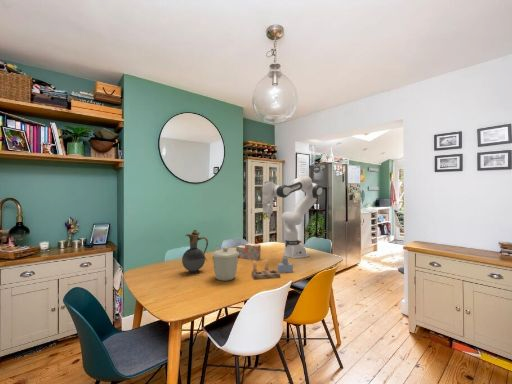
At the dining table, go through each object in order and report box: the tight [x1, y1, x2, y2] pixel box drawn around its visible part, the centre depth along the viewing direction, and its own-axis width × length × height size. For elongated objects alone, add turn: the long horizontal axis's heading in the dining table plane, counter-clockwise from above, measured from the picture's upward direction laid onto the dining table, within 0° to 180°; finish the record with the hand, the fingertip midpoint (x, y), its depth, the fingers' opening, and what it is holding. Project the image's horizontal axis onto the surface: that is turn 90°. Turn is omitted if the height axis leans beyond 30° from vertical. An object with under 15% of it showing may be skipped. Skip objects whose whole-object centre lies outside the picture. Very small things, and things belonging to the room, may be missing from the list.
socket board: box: [251, 269, 281, 280], centre depth 165 cm, size 18×8×2 cm, turn 101°
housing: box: [276, 256, 294, 274], centre depth 175 cm, size 10×5×10 cm, turn 101°
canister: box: [211, 246, 239, 282], centre depth 162 cm, size 18×18×21 cm
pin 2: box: [264, 259, 269, 271], centre depth 180 cm, size 3×3×7 cm
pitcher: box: [181, 229, 209, 275], centre depth 175 cm, size 11×19×30 cm, turn 126°
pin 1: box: [252, 260, 258, 272], centre depth 177 cm, size 3×3×7 cm
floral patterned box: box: [235, 242, 262, 262], centre depth 211 cm, size 21×6×12 cm, turn 58°
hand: (267, 218), depth 197 cm, fingers open, 8 cm apart
